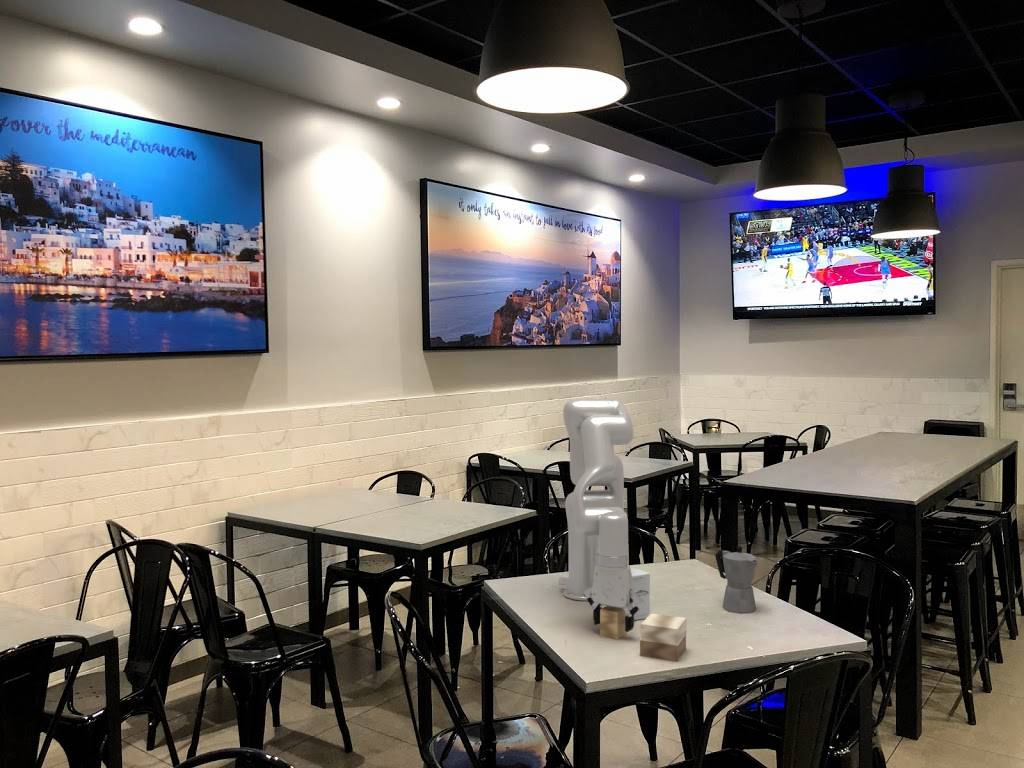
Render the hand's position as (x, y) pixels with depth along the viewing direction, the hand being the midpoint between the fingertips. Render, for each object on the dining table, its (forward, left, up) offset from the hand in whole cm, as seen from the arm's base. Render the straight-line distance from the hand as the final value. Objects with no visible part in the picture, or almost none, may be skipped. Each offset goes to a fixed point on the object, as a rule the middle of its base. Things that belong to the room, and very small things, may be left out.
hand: (613, 626), depth 217 cm
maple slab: (+16, -4, +2) cm, 17 cm away
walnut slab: (+16, -4, -2) cm, 17 cm away
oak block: (0, 0, -2) cm, 2 cm away
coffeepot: (+18, +40, -2) cm, 44 cm away
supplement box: (-3, +16, -2) cm, 16 cm away
